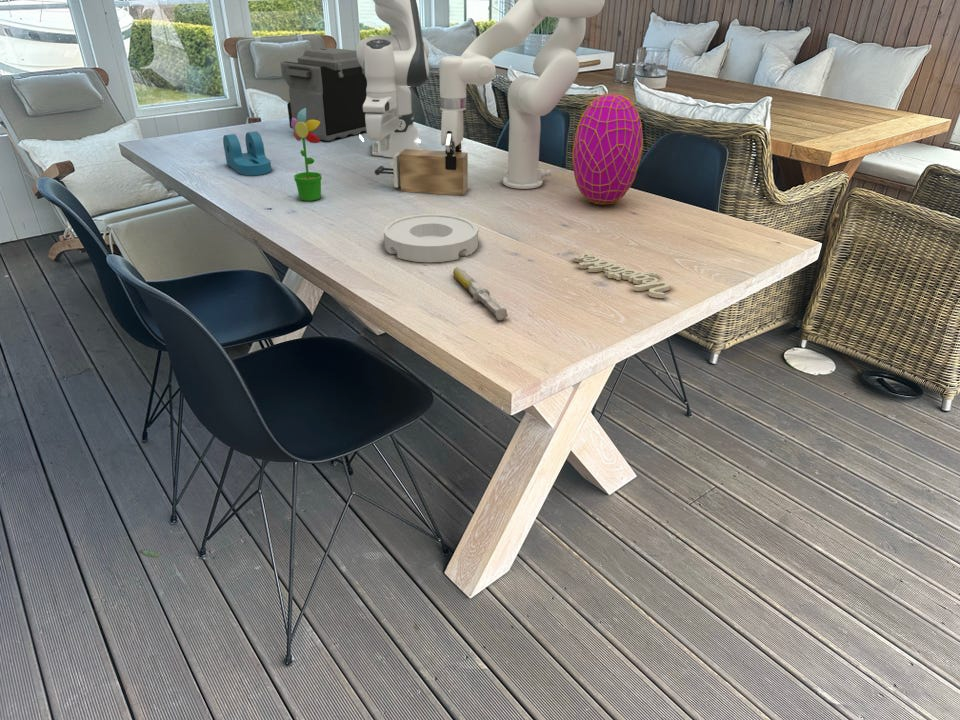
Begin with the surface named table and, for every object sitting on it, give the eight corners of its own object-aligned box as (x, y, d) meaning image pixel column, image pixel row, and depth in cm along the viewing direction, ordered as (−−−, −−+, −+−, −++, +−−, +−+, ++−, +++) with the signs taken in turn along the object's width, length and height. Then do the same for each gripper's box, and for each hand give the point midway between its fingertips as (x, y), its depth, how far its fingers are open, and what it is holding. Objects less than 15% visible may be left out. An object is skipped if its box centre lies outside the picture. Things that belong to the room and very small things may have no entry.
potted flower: (330, 196, 204) (321, 108, 191) (314, 203, 197) (304, 113, 185) (304, 192, 207) (294, 105, 194) (288, 199, 201) (276, 109, 188)
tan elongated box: (400, 191, 209) (398, 154, 204) (406, 185, 215) (405, 148, 209) (463, 195, 206) (463, 157, 201) (467, 189, 212) (467, 152, 206)
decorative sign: (686, 282, 150) (660, 295, 144) (686, 286, 150) (659, 300, 144) (592, 249, 166) (565, 259, 160) (592, 253, 167) (565, 263, 161)
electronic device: (351, 120, 297) (345, 44, 282) (389, 127, 286) (385, 48, 271) (285, 135, 271) (274, 52, 256) (324, 143, 260) (315, 57, 245)
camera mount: (227, 164, 233) (221, 132, 227) (257, 160, 238) (252, 129, 233) (244, 176, 220) (239, 143, 215) (276, 172, 225) (271, 139, 220)
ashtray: (391, 227, 181) (390, 212, 179) (479, 229, 180) (479, 214, 178) (377, 261, 161) (376, 245, 159) (476, 263, 160) (476, 247, 158)
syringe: (449, 274, 155) (449, 263, 153) (465, 272, 156) (464, 260, 154) (490, 323, 135) (491, 310, 133) (508, 319, 136) (508, 307, 134)
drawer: (375, 186, 211) (372, 155, 206) (380, 181, 215) (378, 150, 210) (452, 191, 207) (452, 159, 202) (456, 186, 211) (456, 155, 206)
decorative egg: (611, 217, 189) (624, 103, 174) (555, 202, 201) (562, 94, 185) (647, 202, 202) (662, 94, 186) (592, 188, 213) (602, 86, 198)
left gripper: (382, 95, 209) (385, 142, 216) (360, 107, 192) (364, 157, 199) (402, 96, 208) (405, 142, 215) (382, 107, 191) (385, 158, 198)
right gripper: (447, 97, 204) (448, 158, 214) (432, 108, 190) (434, 173, 199) (471, 98, 203) (471, 160, 212) (459, 109, 189) (459, 175, 198)
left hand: (385, 149), depth 207 cm, fingers closed
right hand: (453, 165), depth 206 cm, fingers closed on tan elongated box, 6 cm apart
